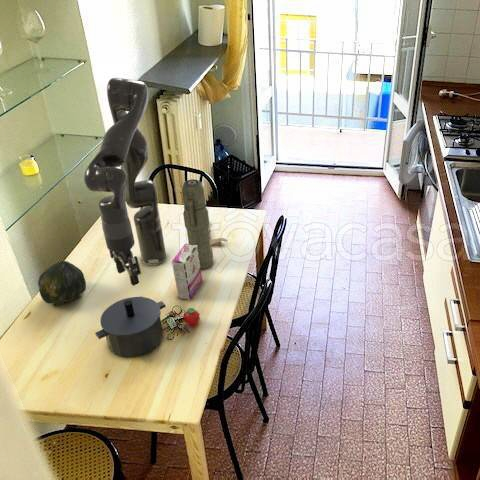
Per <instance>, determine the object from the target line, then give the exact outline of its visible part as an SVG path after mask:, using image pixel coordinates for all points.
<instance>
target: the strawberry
mask: <svg viewBox="0 0 480 480" xmlns="http://www.w3.org/2000/svg"><path fill="white" fill-rule="evenodd" d="M200 317H201V316H200V313H199V311H198V310H196V309H195V308H194V307H189V308H187V309H186V311H185V313H184V315H183V319H184V322H185V323H186V324H187V326H188V327H189V328H195V327H197V326H198V323H199V321H200Z"/></svg>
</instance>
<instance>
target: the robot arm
mask: <svg viewBox="0 0 480 480" xmlns="http://www.w3.org/2000/svg"><path fill="white" fill-rule="evenodd" d="M106 97H107V103H108V106H109V110H110V114H111V118H112V123H113V125H112V126H110V127H109V128H108V129H107V130H106V132H105V134H104V136H103V137H102V142H101V145H100V148H99V151H98V152H97V153H96V155H95V156H94V157H93V159H92V160H91V161H90V163H89V164H88V166H86V169H85V171H84V175H83V182H84V184H85V187H86V189H88V190H89V191H91V192H94V193H113V194H112V195H107V196H104V197H102V198H101V199H99V201H98V205H97V207H98V211H99V216H100V220H101V227H102V232H103V236H104V240H105V244H106V248H107V249H108V251H109V255H110V258H111V259H113V262H114V264H115V266H116V271H117V273H118V274H122V273H125V272H126V271H127V274H128V276H129V281H130V285H131V286H133V287H134V286H137V285H138V284H140V280H139V275H141V274H142V271H141V267H140V262H139V259H138V256H137V255H134V253H133V251H132V250H131V249H132V248H133V247H134V246H135V244H136V243H135V237H134V231H133V227H132V224H131V223H132V222H131V219H130V218H129V217H130V216H129V214H128V208H129V209H139V210H138V211H136V212H135V213H134V215H133V224H134V229H135V233H136V238H137V242H138V247H139V252H140V257H141V258H140V259H141V263H142V264H143V265H146V266H157V265H161V264H163V263H164V262H165V261H166V260H167V259H168V256H167V252H166V245H165V239H164V234H163V228H162V221H161V217H160V210H159V203H158V192H157V188H156V184H155V183H154V181H153V180H152V179H144V180H140V181H136V180H137V178H138V176H139V175H140V173H141V172H142V171H143V169H144V167H145V166H146V164H147V162H148V160H149V149H148V142H147V139H146V137H145V135H144V134H143V132H142V131H141V130H140V128H138V127H139V125H140V123H141V121H142V119H143V116H144V115H145V112H146V110H147V107H148V103H149V88H148V85H147V84H146V82H144V81H141V80H136V79H129V78H122V77H112V78H110V79H109V80H108V82H107V85H106ZM127 206H128V207H127Z"/></svg>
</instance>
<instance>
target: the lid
mask: <svg viewBox="0 0 480 480" xmlns="http://www.w3.org/2000/svg"><path fill="white" fill-rule="evenodd" d="M157 303H158V302H157V301H155V300H154V299H153V298H149V297H146V296H131V297H125V298H123V299H120V300H117V301H115V302H114V303H112V304H110V305H109V306H108V307H107V308H105V310H104V311H102V314H101V316H100V320H99V322H100V326H101V328H102V329H103V330H104V331H106V332H107V333H109V334H111V335H115V336H131V335H136V334H139V333H142V332H144V331H146V330H148V329H149V328H151V327H152V326H153V325H154V324H155V323H156V322H157V321H158V319H159V317H160V318H161V313H162V311H161V309H160V307H159V305H158V304H157Z"/></svg>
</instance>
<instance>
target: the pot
mask: <svg viewBox="0 0 480 480" xmlns="http://www.w3.org/2000/svg"><path fill="white" fill-rule="evenodd" d="M157 304H158V305H159V307H160V310H162V309H164V308H166V307H167V305H166V304H165V302H163V301H162V300H160V301H159V302H157ZM94 334H95V336H96V337H97V339H98V340H102V339H103V338H106V339H105V341H106V343H107V347H108V349H109V351H110V352H111V353H112V354H113V355H115V356H117V357H119V358H123V359H134V358H140V357H143V356H146V355H148V354H150V353H151V352H153V351H155V350H156V349H157V348H158V347H159V346H160V345H161V344H162V342H163V339H164V330H163V326H162V320H161V316H160V317H159V319H158V321H157V322H156V323H155V324H154V325H153V326H152V327H151V328H149V329H148V330H146V331H144V332H142V333H139V334H136V335H131V336H115V335H111V334H109V333H107V332H106V331H104V330H103V328H102V329H100V330H98V331H96V332H94Z"/></svg>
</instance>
